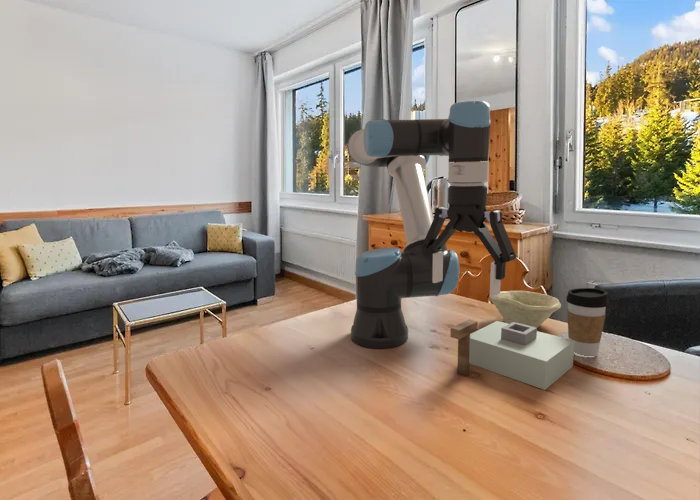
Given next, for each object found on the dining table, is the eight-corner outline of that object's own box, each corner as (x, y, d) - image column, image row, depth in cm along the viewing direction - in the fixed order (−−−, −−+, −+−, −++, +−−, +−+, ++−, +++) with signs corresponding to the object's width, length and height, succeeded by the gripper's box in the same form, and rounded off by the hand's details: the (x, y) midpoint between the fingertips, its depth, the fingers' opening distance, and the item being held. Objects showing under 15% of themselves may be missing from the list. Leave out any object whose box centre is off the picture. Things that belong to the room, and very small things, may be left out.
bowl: (493, 340, 117) (484, 297, 126) (561, 337, 114) (547, 292, 123) (498, 314, 106) (487, 269, 116) (573, 310, 104) (556, 264, 113)
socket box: (464, 361, 95) (465, 326, 93) (496, 343, 104) (497, 311, 103) (544, 390, 82) (547, 349, 80) (572, 366, 91) (575, 329, 89)
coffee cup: (610, 361, 93) (615, 296, 90) (569, 359, 94) (573, 295, 92) (596, 346, 101) (601, 286, 98) (558, 344, 102) (562, 285, 100)
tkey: (467, 366, 93) (468, 319, 91) (476, 369, 91) (478, 321, 89) (448, 376, 88) (449, 327, 86) (458, 380, 86) (459, 330, 84)
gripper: (406, 184, 89) (406, 280, 93) (519, 186, 71) (513, 305, 75) (428, 182, 94) (427, 273, 98) (539, 184, 76) (532, 296, 80)
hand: (464, 287), depth 87 cm, fingers open, 13 cm apart
